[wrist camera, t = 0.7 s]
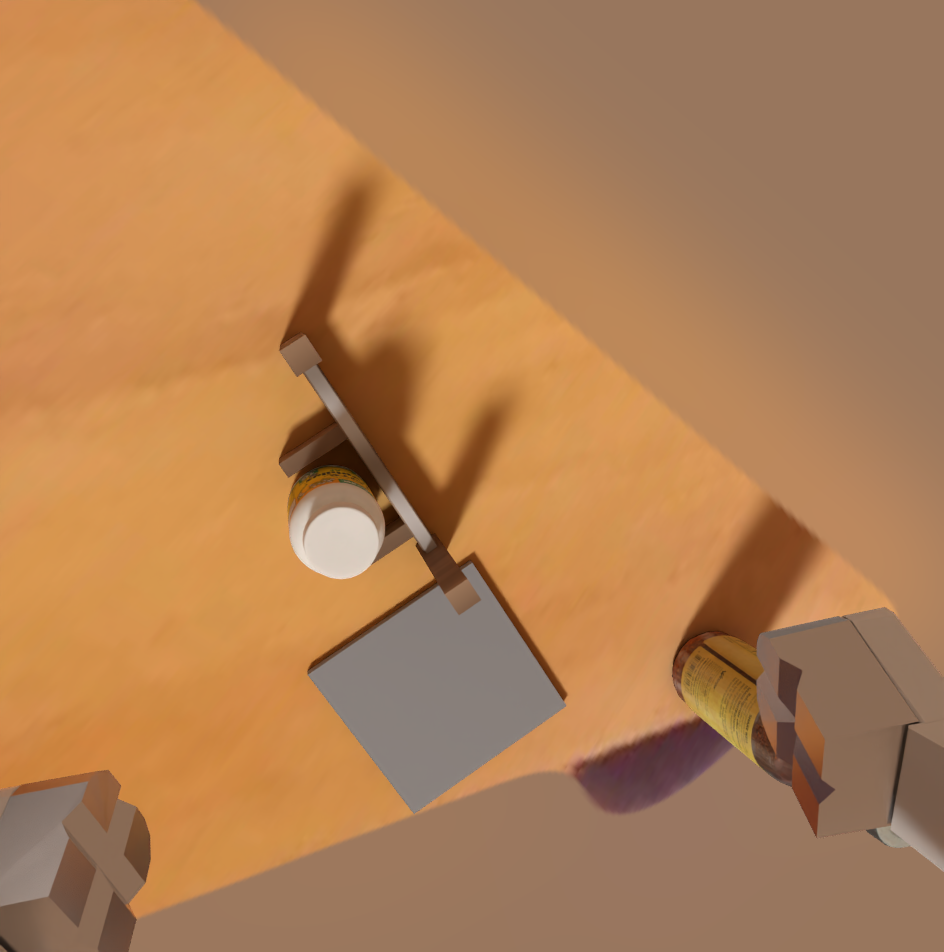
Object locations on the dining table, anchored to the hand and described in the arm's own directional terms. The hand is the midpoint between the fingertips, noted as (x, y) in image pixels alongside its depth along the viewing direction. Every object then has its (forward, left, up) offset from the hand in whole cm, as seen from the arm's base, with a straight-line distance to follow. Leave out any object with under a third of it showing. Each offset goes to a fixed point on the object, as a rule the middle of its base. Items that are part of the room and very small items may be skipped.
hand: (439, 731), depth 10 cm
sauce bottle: (+32, +13, -43) cm, 55 cm away
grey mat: (+21, -4, -42) cm, 48 cm away
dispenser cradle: (+5, -1, -42) cm, 43 cm away
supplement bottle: (+6, -3, -43) cm, 43 cm away
